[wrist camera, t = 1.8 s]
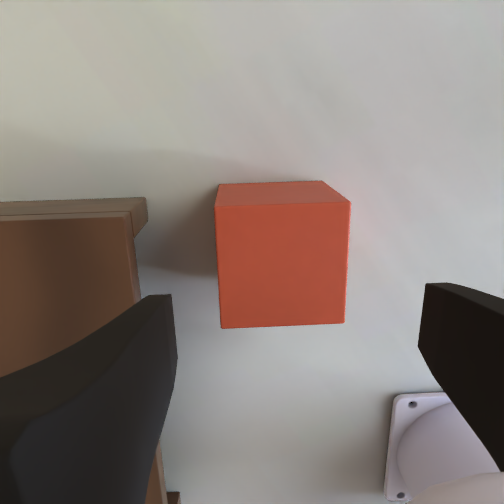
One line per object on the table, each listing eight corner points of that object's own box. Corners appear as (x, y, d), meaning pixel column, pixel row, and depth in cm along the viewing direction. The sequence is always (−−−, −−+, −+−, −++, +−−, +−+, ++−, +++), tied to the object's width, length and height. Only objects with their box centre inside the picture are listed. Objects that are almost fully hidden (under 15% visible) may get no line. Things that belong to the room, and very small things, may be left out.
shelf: (146, 196, 19) (116, 223, 14) (181, 505, 26) (169, 593, 21) (-25, 202, 19) (-112, 231, 14) (54, 512, 25) (13, 603, 21)
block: (322, 180, 19) (351, 201, 14) (319, 276, 21) (344, 323, 16) (218, 183, 19) (213, 206, 14) (224, 280, 21) (220, 329, 16)
